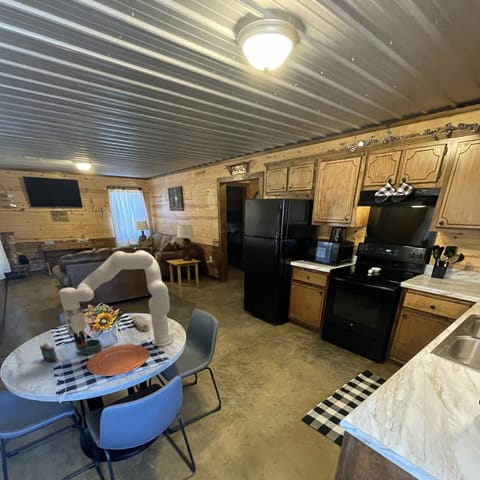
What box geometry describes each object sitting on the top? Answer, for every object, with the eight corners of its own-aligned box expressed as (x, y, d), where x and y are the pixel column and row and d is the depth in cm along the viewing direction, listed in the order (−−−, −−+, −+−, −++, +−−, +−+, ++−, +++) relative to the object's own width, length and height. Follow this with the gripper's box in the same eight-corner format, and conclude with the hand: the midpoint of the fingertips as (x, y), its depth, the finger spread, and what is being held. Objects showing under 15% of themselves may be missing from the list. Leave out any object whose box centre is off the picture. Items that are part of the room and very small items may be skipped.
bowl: (94, 343, 171) (92, 337, 170) (106, 348, 165) (104, 342, 164) (75, 351, 162) (73, 345, 160) (87, 357, 156) (85, 350, 154)
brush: (84, 344, 152) (80, 329, 148) (89, 346, 149) (86, 331, 145) (74, 348, 147) (70, 333, 144) (80, 350, 145) (75, 335, 141)
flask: (59, 360, 153) (53, 343, 149) (54, 362, 150) (49, 346, 146) (46, 357, 155) (41, 341, 151) (42, 360, 153) (36, 344, 148)
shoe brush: (151, 329, 191) (150, 323, 189) (141, 332, 187) (140, 326, 185) (141, 319, 209) (140, 313, 207) (131, 321, 205) (130, 316, 203)
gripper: (70, 316, 132) (78, 348, 139) (88, 306, 147) (94, 335, 154) (55, 316, 132) (64, 348, 139) (74, 305, 147) (82, 335, 154)
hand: (80, 341), depth 147 cm, fingers closed on brush, 2 cm apart
